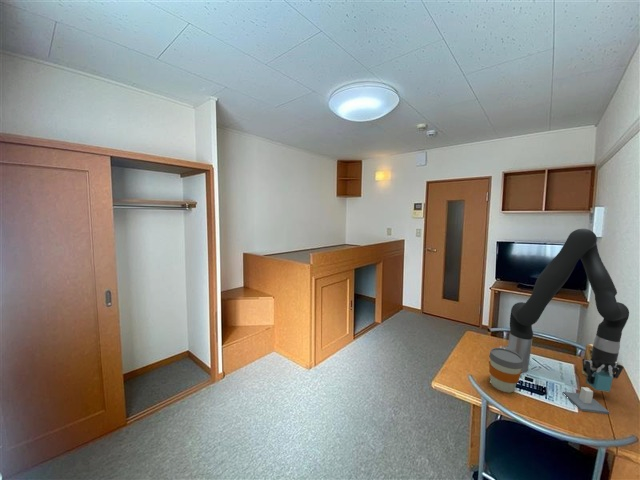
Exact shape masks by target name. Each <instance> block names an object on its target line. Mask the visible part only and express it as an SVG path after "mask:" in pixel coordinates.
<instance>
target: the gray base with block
mask: <svg viewBox="0 0 640 480" xmlns="http://www.w3.org/2000/svg"><path fill="white" fill-rule="evenodd" d="M563 393H564V394H565V395H566V396H565V397H566V398H567V397H568V398H567V400H569V401H570V403H572V402H573V403H574V404H575V405H576V406H577V407H578V408H579V409H578V408H577V407H576V406H575V405H574V404H573V403H572V404H573V405H574V406H575V407H576V408H577V409H578V410H579V411H581V410H582V411H581V412H587V411H589V412H588V413H597V414H603V415H604V414H605V415H610V411H609V410H608V409H607V408H605V407H604V406H603V405H602V404H601V403H599V402H598V401H597V400H596V399H594V398H593V396H594V390H591V388H589V387H584V386H581V387H580V392H579V393H577V392H569V391H568V392H567V391H562V394H563Z"/></svg>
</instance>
